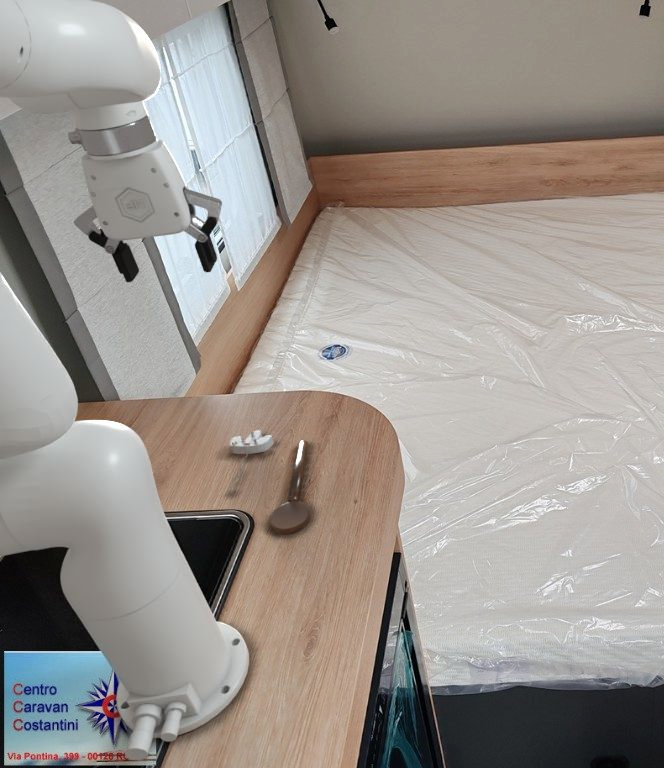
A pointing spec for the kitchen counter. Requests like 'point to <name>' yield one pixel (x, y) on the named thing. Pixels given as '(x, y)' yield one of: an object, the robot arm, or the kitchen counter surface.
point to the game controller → (251, 445)
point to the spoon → (293, 499)
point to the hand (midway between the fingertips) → (171, 272)
